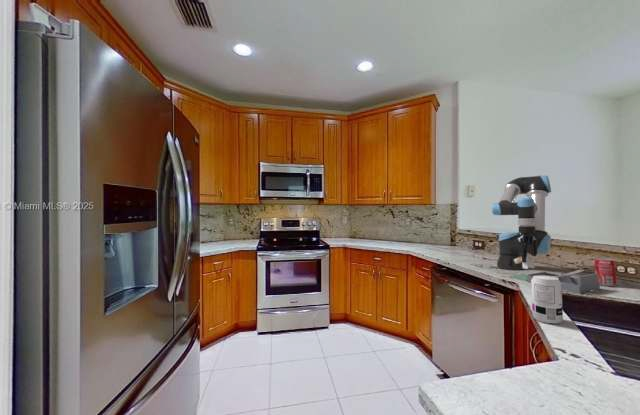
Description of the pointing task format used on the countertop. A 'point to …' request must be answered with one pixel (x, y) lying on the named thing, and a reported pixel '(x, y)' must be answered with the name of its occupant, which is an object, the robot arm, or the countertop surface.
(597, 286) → the charcoal tray
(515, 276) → the green mat
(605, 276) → the red toy chair
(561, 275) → the lever
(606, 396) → the countertop surface
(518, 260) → the maple bar
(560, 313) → the supplement can
